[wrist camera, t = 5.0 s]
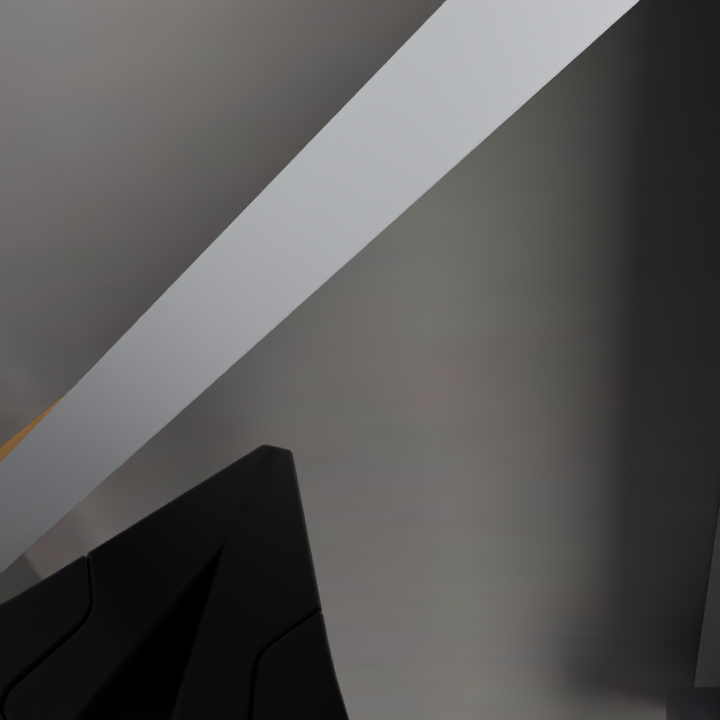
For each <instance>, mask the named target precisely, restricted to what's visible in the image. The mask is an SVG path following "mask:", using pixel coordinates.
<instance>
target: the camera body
mask: <svg viewBox="0 0 720 720" xmlns="http://www.w3.org/2000/svg"><path fill="white" fill-rule="evenodd" d="M666 715H667V720H720V505H719V512H718V519H717V526H716V533H715V540H714V547H713V554H712V561H711V568H710V576H709V583H708V590H707V597H706V604H705V611H704V618H703V625H702V632H701V639H700V646H699V653H698V660H697V667H696V674H695V681H694V687H679V688H673V689H672V690H671V691H670V693H669V696H668V700H667V709H666Z"/></svg>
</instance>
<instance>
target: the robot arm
mask: <svg viewBox="0 0 720 720" xmlns="http://www.w3.org/2000/svg"><path fill="white" fill-rule="evenodd" d="M321 612H322V608H321V602H320V597H319V592H318V586H317V581H316V576H315V570H314V565H313V560H312V554H311V549H310V544H309V538H308V533H307V528H306V522H305V517H304V512H303V506H302V501H301V496H300V490H299V485H298V480H297V474H296V469H295V464H294V458H293V454H292V452H291V451H290V450H288V449H283V448H279V447H275V446H271V445H262V446H260V447H258V448H257V449H255V450H253V451H252V452H250V453H249V454H247V455H245V456H244V457H242V458H240V459H239V460H237V461H236V462H234V463H232V464H231V465H229V466H228V467H226V468H224V469H223V470H221V471H219V472H218V473H216V474H215V475H213V476H211V477H210V478H208V479H206V480H205V481H203V482H202V483H200V484H198V485H197V486H195V487H194V488H192V489H190V490H189V491H187V492H185V493H184V494H182V495H181V496H179V497H177V498H176V499H174V500H173V501H171V502H169V503H168V504H166V505H164V506H163V507H161V508H160V509H158V510H156V511H155V512H153V513H151V514H150V515H148V516H147V517H145V518H143V519H142V520H140V521H139V522H137V523H135V524H134V525H132V526H130V527H129V528H127V529H126V530H124V531H122V532H121V533H119V534H118V535H116V536H114V537H113V538H111V539H109V540H108V541H106V542H105V543H103V544H101V545H100V546H98V547H96V548H95V549H93V550H92V551H90V552H89V553H88V554H87V557H86V556H82V557H80V558H78V559H77V560H75V561H73V562H72V563H70V564H69V565H67V566H65V567H64V568H62V569H60V570H59V571H57V572H56V573H54V574H52V575H50V576H49V577H47V578H45V579H44V580H42V581H40V582H38V583H37V584H35V585H33V586H32V587H30V588H28V589H27V590H25V591H23V592H21V593H20V594H18V595H16V596H15V597H13V598H11V599H9V600H7V601H6V602H4V603H2V604H0V720H349V717H348V714H347V711H346V707H345V704H344V701H343V697H342V694H341V691H340V687H339V684H338V681H337V677H336V673H335V669H334V664H333V660H332V656H331V651H330V647H329V642H328V638H327V633H326V627H325V622H324V617H323V614H322V613H321Z"/></svg>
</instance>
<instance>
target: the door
mask: <svg viewBox="0 0 720 720" xmlns="http://www.w3.org/2000/svg"><path fill="white" fill-rule="evenodd" d="M638 1H639V0H446V1H445V2H444V3H443V4H442V5H441V6H440V7H439V9H438V10H437V11H436V12H435V13H434V14H433V15H432V16H431V17H430V18H429V19H428V20H427V21H426V22H425V23H424V24H423V25H422V26H421V27H420V28H419V29H418V30H417V31H416V32H415V33H414V34H413V35H412V37H411V38H410V39H409V40H408V41H407V42H406V43H405V44H404V45H403V46H402V47H401V48H400V49H399V50H398V51H397V52H396V53H395V54H394V55H393V56H392V57H391V58H390V59H389V60H388V61H387V62H386V63H385V65H384V66H383V67H382V68H381V69H380V70H379V71H378V72H377V73H376V74H375V75H374V76H373V77H372V78H371V79H370V80H369V81H368V82H367V83H366V84H365V85H364V86H363V87H362V88H361V89H360V90H359V91H358V92H357V94H356V95H355V96H354V97H353V98H352V99H351V100H350V101H349V102H348V103H347V104H346V105H345V106H344V107H343V108H342V109H341V110H340V111H339V112H338V113H337V114H336V115H335V116H334V117H333V118H332V119H331V120H330V122H329V123H328V124H327V125H326V126H325V127H324V128H323V129H322V130H321V131H320V132H319V133H318V134H317V135H316V136H315V137H314V138H313V139H312V140H311V141H310V142H309V143H308V144H307V145H306V146H305V147H304V148H303V150H302V151H301V152H300V153H299V154H298V155H297V156H296V157H295V158H294V159H293V160H292V161H291V162H290V163H289V164H288V165H287V166H286V167H285V168H284V169H283V170H282V171H281V172H280V173H279V174H278V175H277V176H276V177H275V179H274V180H273V181H272V182H271V183H270V184H269V185H268V186H267V187H266V188H265V189H264V190H263V191H262V192H261V193H260V194H259V195H258V196H257V197H256V198H255V199H254V200H253V201H252V202H251V203H250V204H249V205H248V207H247V208H246V209H245V210H244V211H243V212H242V213H241V214H240V215H239V216H238V217H237V218H236V219H235V220H234V221H233V222H232V223H231V224H230V225H229V226H228V227H227V228H226V229H225V230H224V231H223V232H222V233H221V235H220V236H219V237H218V238H217V239H216V240H215V241H214V242H213V243H212V244H211V245H210V246H209V247H208V248H207V249H206V250H205V251H204V252H203V253H202V254H201V255H200V256H199V257H198V258H197V259H196V260H195V261H194V263H193V264H192V265H191V266H190V267H189V268H188V269H187V270H186V271H185V272H184V273H183V274H182V275H181V276H180V277H179V278H178V279H177V280H176V281H175V282H174V283H173V284H172V285H171V286H170V287H169V288H168V289H167V290H166V292H165V293H164V294H163V295H162V296H161V297H160V298H159V299H158V300H157V301H156V302H155V303H154V304H153V305H152V306H151V307H150V308H149V309H148V310H147V311H146V312H145V313H144V314H143V315H142V316H141V317H140V318H139V320H138V321H137V322H136V323H135V324H134V325H133V326H132V327H131V328H130V329H129V330H128V331H127V332H126V333H125V334H124V335H123V336H122V337H121V338H120V339H119V340H118V341H117V342H116V343H115V344H114V345H113V346H112V348H111V349H110V350H109V351H108V352H107V353H106V354H105V355H104V356H103V357H102V358H101V359H100V360H99V361H98V362H97V363H96V364H95V365H94V366H93V367H92V368H91V369H90V370H89V371H88V372H87V373H86V374H85V375H84V377H83V378H82V379H81V380H80V381H79V382H78V383H77V384H76V385H75V386H74V387H73V388H72V389H71V390H70V391H69V392H68V393H67V394H65V395H64V396H63V397H62V398H60V399H59V400H58V401H57V402H56V403H54V404H53V405H52V406H51V407H49V408H48V409H47V410H46V411H44V412H43V413H42V414H41V415H40V416H38V417H37V418H36V419H35V420H33V421H32V422H31V423H30V424H28V425H27V426H26V427H25V428H23V429H22V430H21V431H20V432H19V433H17V434H16V435H15V436H14V437H12V438H11V439H10V440H9V441H7V442H6V443H5V444H4V445H3V446H1V447H0V573H1V572H3V571H4V570H5V569H6V568H7V567H8V566H9V565H10V564H12V563H13V562H14V561H15V560H16V559H17V558H18V557H19V556H20V555H22V554H23V553H24V552H25V551H26V550H27V549H28V548H29V547H30V546H32V545H33V544H34V543H35V542H36V541H37V540H38V539H39V538H41V537H42V536H43V535H44V534H45V533H46V532H47V531H48V530H49V529H51V528H52V527H53V526H54V525H55V524H56V523H57V522H58V521H59V520H61V519H62V518H63V517H64V516H65V515H66V514H67V513H68V512H70V511H71V510H72V509H73V508H74V507H75V506H76V505H77V504H78V503H80V502H81V501H82V500H83V499H84V498H85V497H86V496H87V495H88V494H90V493H91V492H92V491H93V490H94V489H95V488H96V487H97V486H98V485H100V484H101V483H102V482H103V481H104V480H105V479H106V478H107V477H109V476H110V475H111V474H112V473H113V472H114V471H115V470H116V469H117V468H119V467H120V466H121V465H122V464H123V463H124V462H125V461H126V460H127V459H129V458H130V457H131V456H132V455H133V454H134V453H135V452H136V451H138V450H139V449H140V448H141V447H142V446H143V445H144V444H145V443H146V442H148V441H149V440H150V439H151V438H152V437H153V436H154V435H155V434H156V433H158V432H159V431H160V430H161V429H162V428H163V427H164V426H165V425H167V424H168V423H169V422H170V421H171V420H172V419H173V418H174V417H175V416H177V415H178V414H179V413H180V412H181V411H182V410H183V409H184V408H185V407H187V406H188V405H189V404H190V403H191V402H192V401H193V400H194V399H195V398H197V397H198V396H199V395H200V394H201V393H202V392H203V391H204V390H206V389H207V388H208V387H209V386H210V385H211V384H212V383H213V382H214V381H216V380H217V379H218V378H219V377H220V376H221V375H222V374H223V373H224V372H226V371H227V370H228V369H229V368H230V367H231V366H232V365H233V364H235V363H236V362H237V361H238V360H239V359H240V358H241V357H242V356H243V355H245V354H246V353H247V352H248V351H249V350H250V349H251V348H252V347H253V346H255V345H256V344H257V343H258V342H259V341H260V340H261V339H262V338H263V337H265V336H266V335H267V334H268V333H269V332H270V331H271V330H272V329H274V328H275V327H276V326H277V325H278V324H279V323H280V322H281V321H282V320H284V319H285V318H286V317H287V316H288V315H289V314H290V313H291V312H292V311H294V310H295V309H296V308H297V307H298V306H299V305H300V304H301V303H303V302H304V301H305V300H306V299H307V298H308V297H309V296H310V295H311V294H313V293H314V292H315V291H316V290H317V289H318V288H319V287H320V286H321V285H323V284H324V283H325V282H326V281H327V280H328V279H329V278H330V277H331V276H333V275H334V274H335V273H336V272H337V271H338V270H339V269H340V268H342V267H343V266H344V265H345V264H346V263H347V262H348V261H349V260H350V259H352V258H353V257H354V256H355V255H356V254H357V253H358V252H359V251H360V250H362V249H363V248H364V247H365V246H366V245H367V244H368V243H369V242H371V241H372V240H373V239H374V238H375V237H376V236H377V235H378V234H379V233H381V232H382V231H383V230H384V229H385V228H386V227H387V226H388V225H389V224H391V223H392V222H393V221H394V220H395V219H396V218H397V217H398V216H399V215H401V214H402V213H403V212H404V211H405V210H406V209H407V208H408V207H410V206H411V205H412V204H413V203H414V202H415V201H416V200H417V199H418V198H420V197H421V196H422V195H423V194H424V193H425V192H426V191H427V190H428V189H430V188H431V187H432V186H433V185H434V184H435V183H436V182H437V181H439V180H440V179H441V178H442V177H443V176H444V175H445V174H446V173H447V172H449V171H450V170H451V169H452V168H453V167H454V166H455V165H456V164H457V163H459V162H460V161H461V160H462V159H463V158H464V157H465V156H466V155H467V154H469V153H470V152H471V151H472V150H473V149H474V148H475V147H476V146H478V145H479V144H480V143H481V142H482V141H483V140H484V139H485V138H486V137H488V136H489V135H490V134H491V133H492V132H493V131H494V130H495V129H496V128H498V127H499V126H500V125H501V124H502V123H503V122H504V121H505V120H507V119H508V118H509V117H510V116H511V115H512V114H513V113H514V112H515V111H517V110H518V109H519V108H520V107H521V106H522V105H523V104H524V103H525V102H527V101H528V100H529V99H530V98H531V97H532V96H533V95H534V94H535V93H537V92H538V91H539V90H540V89H541V88H542V87H543V86H544V85H546V84H547V83H548V82H549V81H550V80H551V79H552V78H553V77H554V76H556V75H557V74H558V73H559V72H560V71H561V70H562V69H563V68H564V67H566V66H567V65H568V64H569V63H570V62H571V61H572V60H573V59H575V58H576V57H577V56H578V55H579V54H580V53H581V52H582V51H583V50H585V49H586V48H587V47H588V46H589V45H590V44H591V43H592V42H593V41H595V40H596V39H597V38H598V37H599V36H600V35H601V34H602V33H604V32H605V31H606V30H607V29H608V28H609V27H610V26H611V25H612V24H614V23H615V22H616V21H617V20H618V19H619V18H620V17H621V16H622V15H624V14H625V13H626V12H627V11H628V10H629V9H630V8H631V7H632V6H634V5H635V4H636V3H637V2H638Z"/></svg>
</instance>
